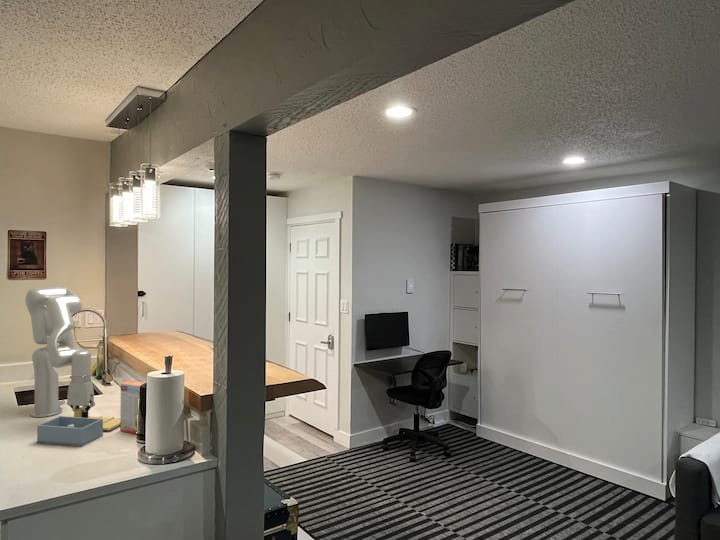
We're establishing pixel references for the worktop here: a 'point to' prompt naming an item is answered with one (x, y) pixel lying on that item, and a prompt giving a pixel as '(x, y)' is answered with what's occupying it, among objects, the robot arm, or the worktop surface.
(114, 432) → the worktop surface
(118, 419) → the lid
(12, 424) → the worktop surface
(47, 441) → the tub
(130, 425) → the cracker box
